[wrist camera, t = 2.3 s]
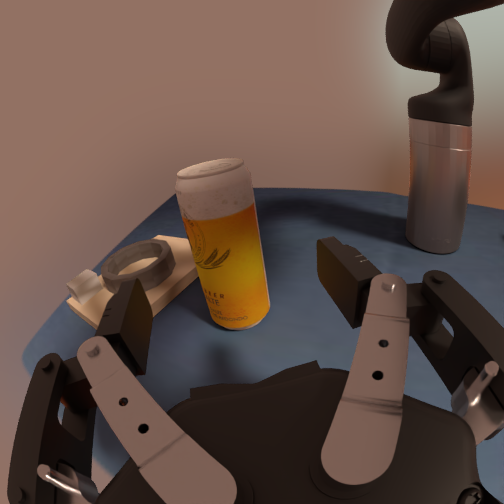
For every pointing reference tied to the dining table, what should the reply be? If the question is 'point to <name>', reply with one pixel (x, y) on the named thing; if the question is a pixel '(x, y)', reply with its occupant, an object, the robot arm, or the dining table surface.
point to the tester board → (152, 295)
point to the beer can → (225, 240)
